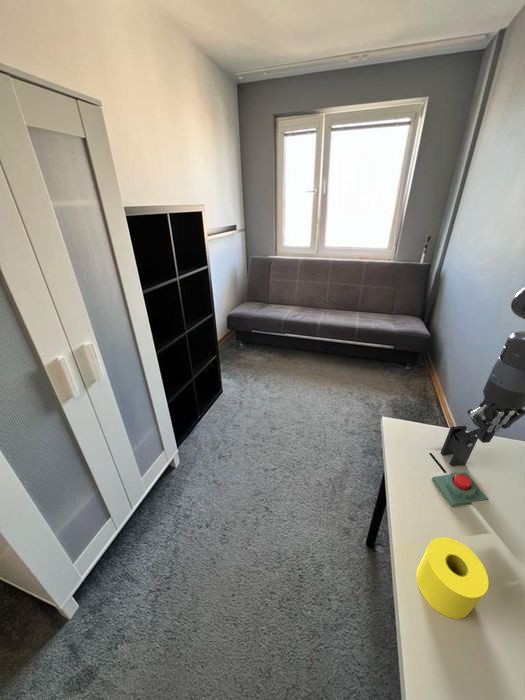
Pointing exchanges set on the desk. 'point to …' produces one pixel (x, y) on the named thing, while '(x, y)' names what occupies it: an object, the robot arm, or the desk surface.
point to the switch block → (457, 490)
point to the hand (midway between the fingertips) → (482, 439)
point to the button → (462, 482)
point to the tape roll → (451, 578)
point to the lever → (466, 434)
